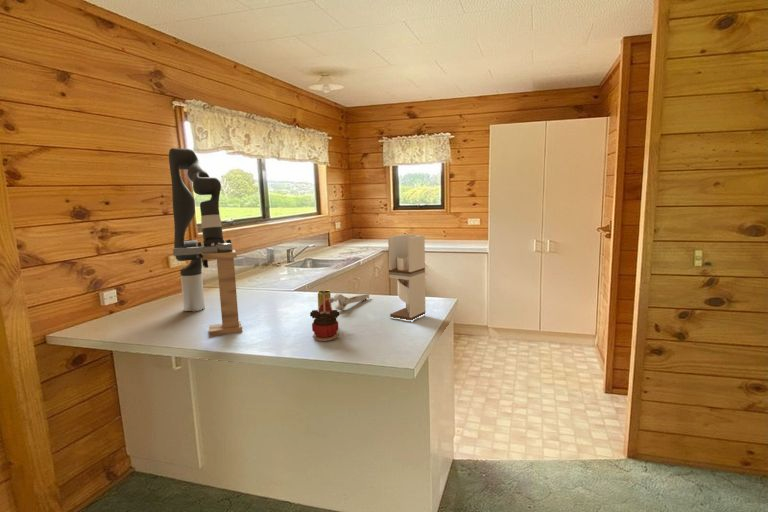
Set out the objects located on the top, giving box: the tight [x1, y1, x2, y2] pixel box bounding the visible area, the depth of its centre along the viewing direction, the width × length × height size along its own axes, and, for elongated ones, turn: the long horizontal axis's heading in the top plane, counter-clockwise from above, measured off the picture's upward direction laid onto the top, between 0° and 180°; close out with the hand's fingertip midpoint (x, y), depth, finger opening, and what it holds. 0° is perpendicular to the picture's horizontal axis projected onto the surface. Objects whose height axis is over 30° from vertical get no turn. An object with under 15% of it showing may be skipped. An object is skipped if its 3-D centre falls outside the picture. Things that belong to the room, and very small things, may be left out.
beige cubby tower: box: [387, 233, 426, 320], centre depth 183 cm, size 11×11×35 cm
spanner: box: [172, 242, 234, 257], centre depth 167 cm, size 6×21×3 cm, turn 113°
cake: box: [309, 291, 340, 342], centre depth 161 cm, size 11×9×18 cm
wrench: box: [333, 293, 370, 311], centre depth 207 cm, size 8×2×30 cm
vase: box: [317, 289, 333, 311], centre depth 176 cm, size 6×6×14 cm
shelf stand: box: [203, 249, 243, 337], centre depth 171 cm, size 9×12×32 cm
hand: (216, 266), depth 177 cm, fingers open, 8 cm apart
